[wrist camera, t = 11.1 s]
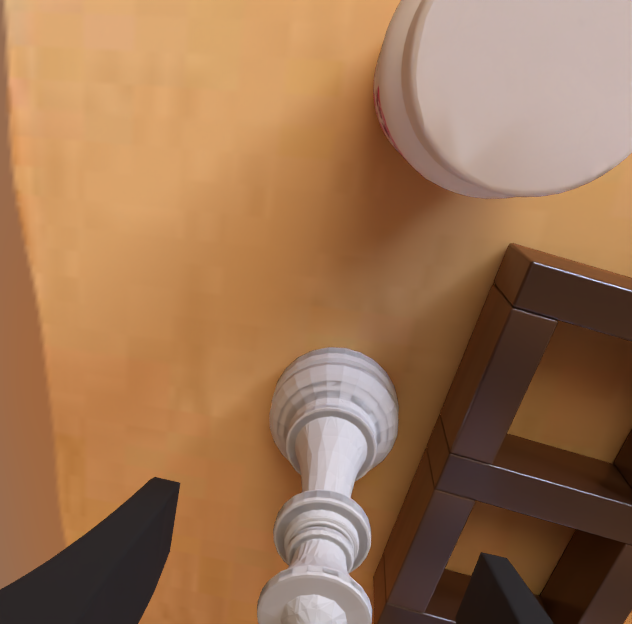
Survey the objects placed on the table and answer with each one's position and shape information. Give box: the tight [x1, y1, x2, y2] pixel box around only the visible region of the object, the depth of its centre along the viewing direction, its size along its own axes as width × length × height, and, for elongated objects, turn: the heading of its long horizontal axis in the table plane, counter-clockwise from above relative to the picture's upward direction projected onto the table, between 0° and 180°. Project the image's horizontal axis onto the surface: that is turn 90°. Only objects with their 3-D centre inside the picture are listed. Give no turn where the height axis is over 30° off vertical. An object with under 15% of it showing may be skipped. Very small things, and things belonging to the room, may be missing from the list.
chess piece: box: [257, 347, 399, 624], centre depth 15 cm, size 4×4×10 cm
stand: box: [373, 243, 632, 624], centre depth 19 cm, size 14×8×2 cm, turn 165°
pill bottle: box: [373, 0, 632, 199], centre depth 12 cm, size 5×5×8 cm
